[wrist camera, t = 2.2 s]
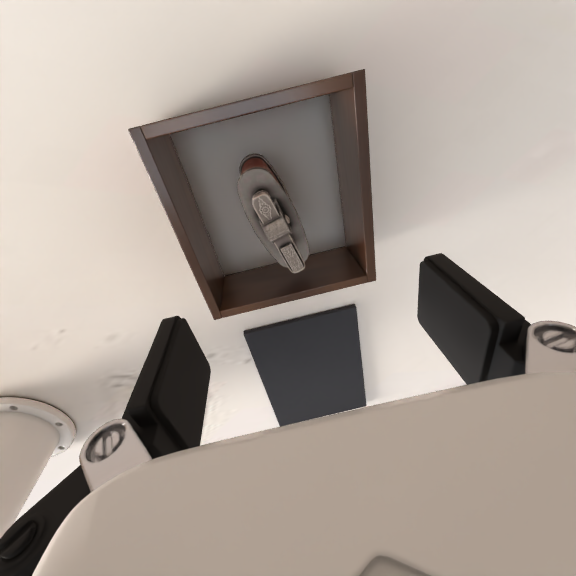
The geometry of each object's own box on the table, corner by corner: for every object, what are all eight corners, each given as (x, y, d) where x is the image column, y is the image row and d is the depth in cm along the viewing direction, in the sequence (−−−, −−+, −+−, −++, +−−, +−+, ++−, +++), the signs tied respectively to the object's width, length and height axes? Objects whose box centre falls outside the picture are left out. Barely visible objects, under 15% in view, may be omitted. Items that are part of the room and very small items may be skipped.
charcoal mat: (279, 423, 46) (280, 426, 46) (243, 331, 36) (243, 334, 35) (365, 402, 46) (366, 406, 46) (354, 304, 36) (356, 306, 35)
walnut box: (219, 283, 32) (214, 320, 26) (155, 124, 23) (127, 129, 18) (353, 250, 32) (376, 280, 26) (337, 77, 23) (365, 68, 18)
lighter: (230, 165, 26) (222, 193, 17) (264, 145, 25) (272, 165, 17) (273, 239, 30) (284, 291, 21) (303, 224, 29) (325, 271, 21)
